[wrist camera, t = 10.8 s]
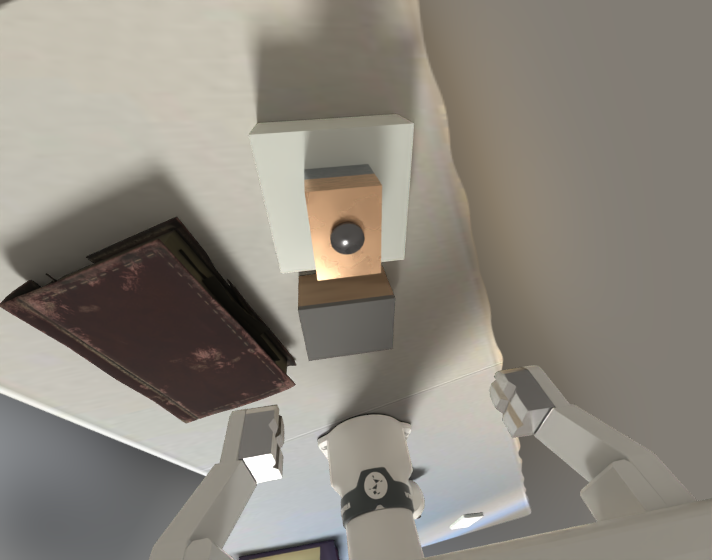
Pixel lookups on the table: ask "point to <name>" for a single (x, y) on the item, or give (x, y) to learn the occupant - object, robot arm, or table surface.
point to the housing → (344, 220)
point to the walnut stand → (346, 314)
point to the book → (300, 553)
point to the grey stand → (331, 149)
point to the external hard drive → (466, 520)
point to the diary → (161, 324)
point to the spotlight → (416, 498)
